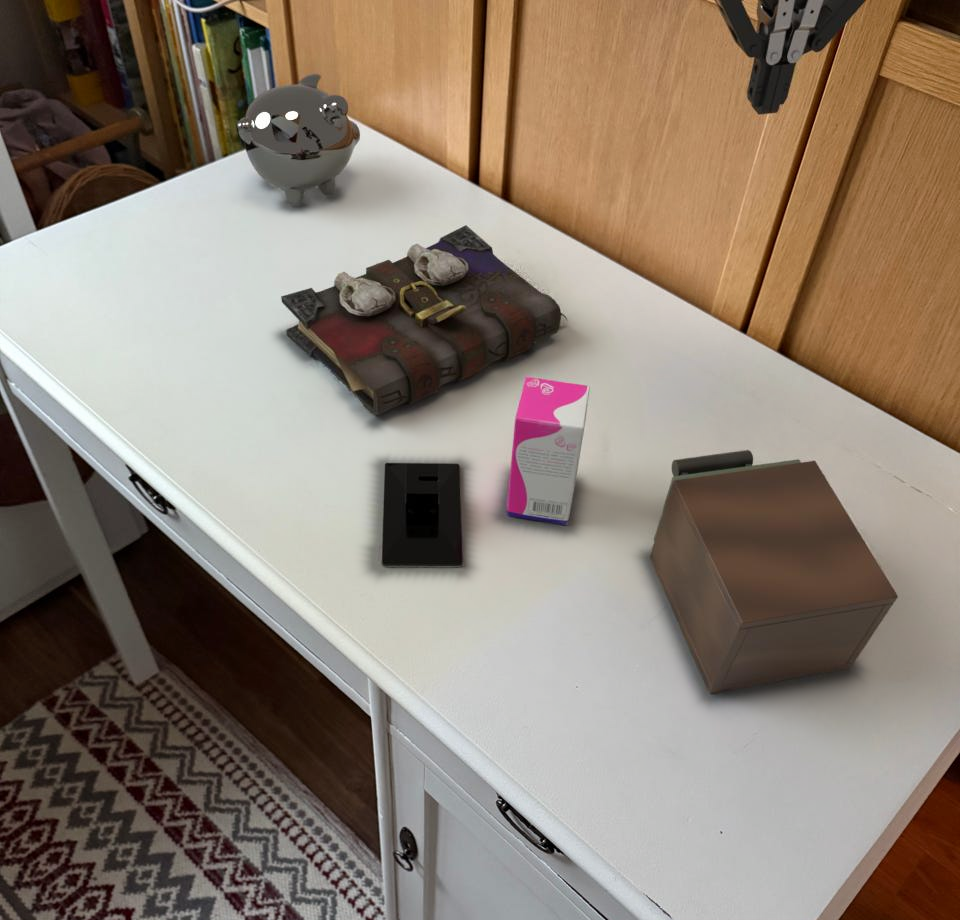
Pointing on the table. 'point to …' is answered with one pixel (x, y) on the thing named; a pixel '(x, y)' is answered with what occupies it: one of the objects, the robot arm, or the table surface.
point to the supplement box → (546, 449)
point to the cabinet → (767, 575)
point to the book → (421, 320)
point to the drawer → (715, 466)
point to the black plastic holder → (421, 516)
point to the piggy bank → (299, 137)
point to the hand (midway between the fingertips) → (764, 109)
